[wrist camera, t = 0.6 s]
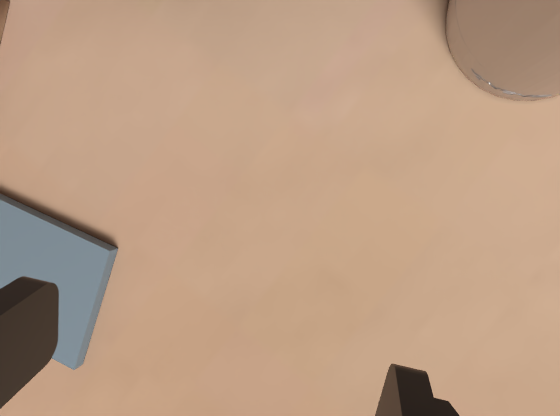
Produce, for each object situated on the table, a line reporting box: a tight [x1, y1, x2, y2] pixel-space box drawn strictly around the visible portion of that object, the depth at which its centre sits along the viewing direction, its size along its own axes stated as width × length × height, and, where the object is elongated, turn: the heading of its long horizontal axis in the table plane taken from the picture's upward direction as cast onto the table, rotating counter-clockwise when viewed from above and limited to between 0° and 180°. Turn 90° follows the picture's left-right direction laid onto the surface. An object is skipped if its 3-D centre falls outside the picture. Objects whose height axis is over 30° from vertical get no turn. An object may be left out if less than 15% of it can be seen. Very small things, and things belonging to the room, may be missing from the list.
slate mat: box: [0, 194, 118, 370], centre depth 34 cm, size 10×12×1 cm
